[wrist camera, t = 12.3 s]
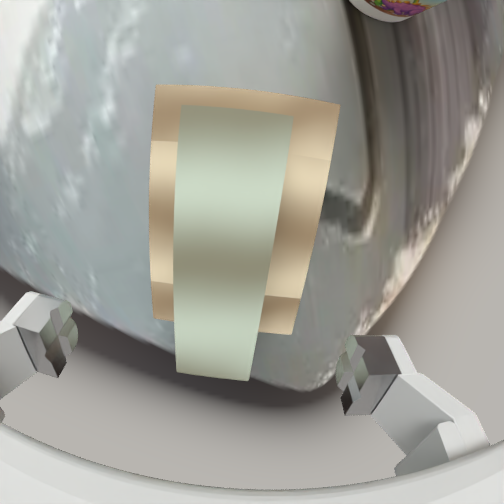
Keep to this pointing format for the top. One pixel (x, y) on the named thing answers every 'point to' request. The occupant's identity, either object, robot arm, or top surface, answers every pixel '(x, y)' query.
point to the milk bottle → (393, 8)
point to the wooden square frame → (292, 200)
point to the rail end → (224, 233)
